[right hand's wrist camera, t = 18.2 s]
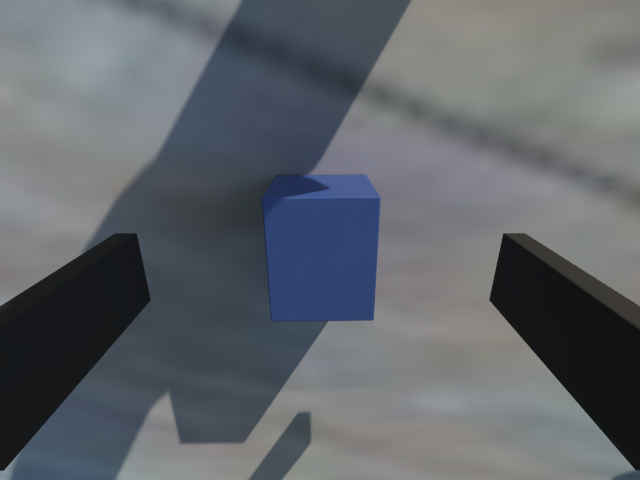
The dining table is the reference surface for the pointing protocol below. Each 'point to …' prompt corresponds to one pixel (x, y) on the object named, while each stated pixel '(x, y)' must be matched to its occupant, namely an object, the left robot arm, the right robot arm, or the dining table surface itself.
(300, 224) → the brick
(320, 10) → the dining table surface
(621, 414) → the right robot arm
